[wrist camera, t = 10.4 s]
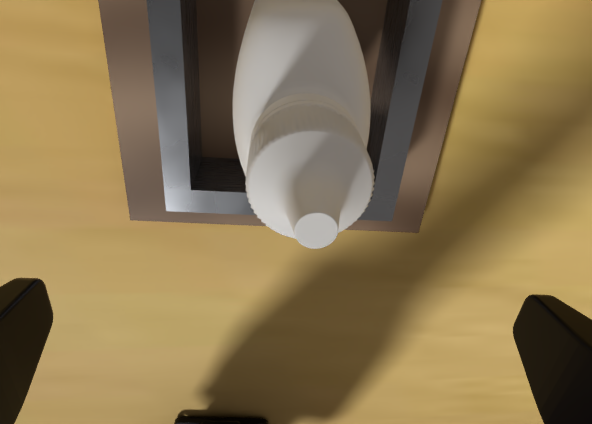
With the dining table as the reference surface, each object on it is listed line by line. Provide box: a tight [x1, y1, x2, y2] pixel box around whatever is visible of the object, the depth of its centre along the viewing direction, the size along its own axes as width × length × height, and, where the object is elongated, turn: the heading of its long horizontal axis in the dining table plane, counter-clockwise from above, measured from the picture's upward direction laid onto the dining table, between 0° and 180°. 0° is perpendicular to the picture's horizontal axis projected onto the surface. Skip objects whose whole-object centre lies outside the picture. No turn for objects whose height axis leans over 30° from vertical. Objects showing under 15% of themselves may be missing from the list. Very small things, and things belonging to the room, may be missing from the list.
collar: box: [146, 0, 443, 221], centre depth 16 cm, size 11×9×3 cm
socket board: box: [98, 0, 481, 233], centre depth 18 cm, size 16×14×1 cm
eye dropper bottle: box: [233, 0, 375, 249], centre depth 12 cm, size 4×6×12 cm
